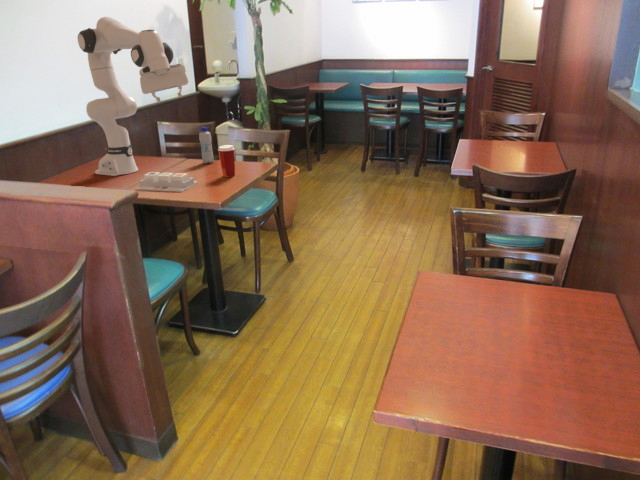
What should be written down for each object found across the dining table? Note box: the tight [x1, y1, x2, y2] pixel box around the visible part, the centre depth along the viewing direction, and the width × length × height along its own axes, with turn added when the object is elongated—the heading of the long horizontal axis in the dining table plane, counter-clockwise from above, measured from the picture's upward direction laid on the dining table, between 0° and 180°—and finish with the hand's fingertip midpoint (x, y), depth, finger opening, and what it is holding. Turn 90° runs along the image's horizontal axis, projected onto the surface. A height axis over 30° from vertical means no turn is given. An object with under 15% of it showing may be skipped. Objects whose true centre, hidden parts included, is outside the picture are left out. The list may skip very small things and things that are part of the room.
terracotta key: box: [172, 172, 190, 182], centre depth 242 cm, size 6×6×3 cm
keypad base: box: [136, 177, 198, 193], centre depth 245 cm, size 24×15×4 cm, turn 74°
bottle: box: [198, 126, 214, 164], centre depth 283 cm, size 7×7×20 cm
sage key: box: [158, 172, 175, 182], centre depth 244 cm, size 6×6×3 cm
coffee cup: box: [217, 144, 236, 178], centre depth 256 cm, size 8×8×15 cm
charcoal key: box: [143, 171, 162, 181], centre depth 246 cm, size 6×6×3 cm
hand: (169, 99), depth 223 cm, fingers open, 8 cm apart
